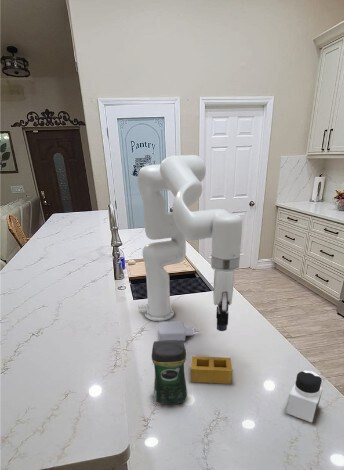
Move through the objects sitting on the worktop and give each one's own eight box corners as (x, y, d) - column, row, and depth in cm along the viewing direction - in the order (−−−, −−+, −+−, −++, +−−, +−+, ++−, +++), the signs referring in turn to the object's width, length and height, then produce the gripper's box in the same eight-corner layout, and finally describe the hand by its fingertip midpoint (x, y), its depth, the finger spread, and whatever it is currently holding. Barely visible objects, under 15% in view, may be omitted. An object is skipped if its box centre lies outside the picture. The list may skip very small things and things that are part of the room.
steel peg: (216, 331, 97) (218, 306, 94) (216, 326, 100) (217, 302, 96) (227, 331, 97) (228, 307, 93) (226, 326, 100) (228, 302, 96)
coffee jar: (185, 386, 101) (185, 334, 92) (187, 405, 94) (187, 350, 85) (154, 388, 100) (151, 336, 92) (153, 406, 93) (150, 351, 85)
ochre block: (190, 382, 103) (191, 369, 100) (191, 368, 109) (192, 356, 106) (231, 383, 101) (232, 370, 99) (229, 370, 108) (230, 357, 105)
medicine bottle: (312, 423, 87) (321, 388, 81) (285, 413, 90) (292, 378, 84) (318, 407, 92) (326, 372, 86) (292, 398, 95) (298, 364, 90)
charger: (199, 342, 123) (159, 343, 123) (197, 330, 131) (159, 331, 131) (199, 331, 120) (159, 332, 120) (197, 319, 129) (159, 320, 128)
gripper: (210, 253, 96) (208, 309, 105) (211, 272, 82) (209, 335, 90) (236, 253, 96) (232, 309, 104) (242, 272, 81) (236, 336, 90)
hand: (221, 321), depth 97 cm, fingers closed on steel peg, 3 cm apart
